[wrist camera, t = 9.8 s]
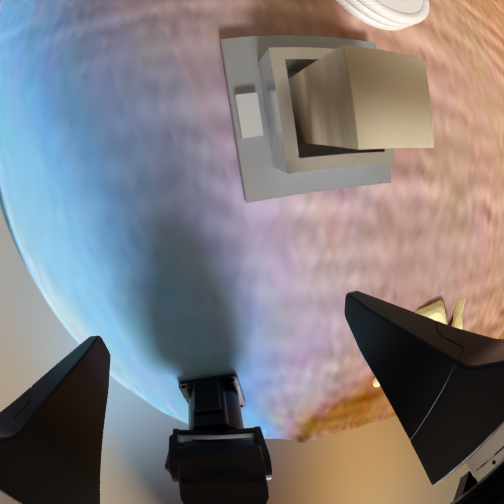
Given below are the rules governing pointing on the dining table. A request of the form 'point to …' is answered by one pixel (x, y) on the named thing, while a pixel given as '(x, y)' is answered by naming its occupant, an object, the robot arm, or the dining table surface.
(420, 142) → the wooden block
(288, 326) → the dining table surface
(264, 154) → the plate
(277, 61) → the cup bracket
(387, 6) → the white thick disc
